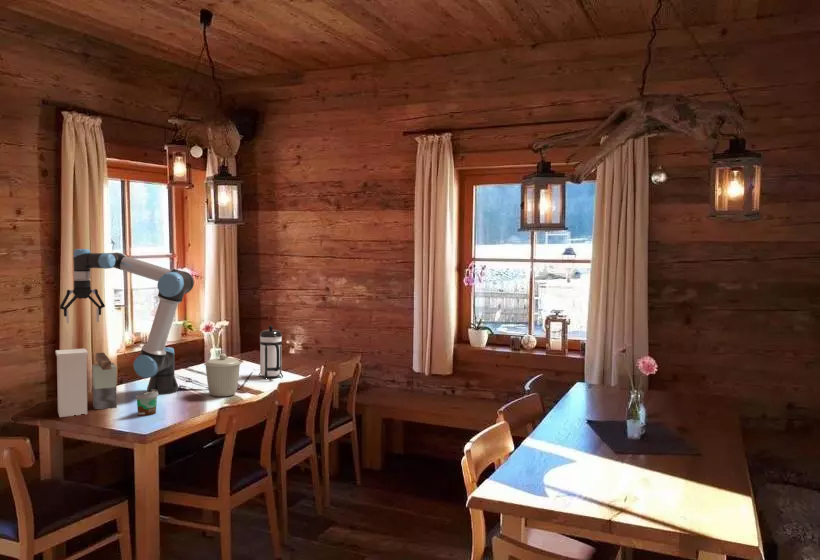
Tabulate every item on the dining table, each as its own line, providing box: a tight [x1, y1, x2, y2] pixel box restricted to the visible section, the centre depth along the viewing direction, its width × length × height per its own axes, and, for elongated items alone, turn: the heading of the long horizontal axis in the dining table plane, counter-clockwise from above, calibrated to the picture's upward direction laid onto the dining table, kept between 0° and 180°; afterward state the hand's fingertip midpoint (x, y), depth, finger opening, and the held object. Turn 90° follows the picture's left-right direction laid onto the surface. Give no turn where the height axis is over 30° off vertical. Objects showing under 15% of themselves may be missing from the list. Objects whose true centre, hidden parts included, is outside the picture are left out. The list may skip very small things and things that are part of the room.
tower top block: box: [92, 362, 117, 389], centre depth 311 cm, size 9×10×10 cm
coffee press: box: [258, 325, 284, 380], centre depth 383 cm, size 17×16×30 cm
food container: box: [135, 389, 160, 417], centre depth 300 cm, size 12×6×10 cm, turn 168°
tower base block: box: [92, 385, 118, 410], centre depth 312 cm, size 9×10×10 cm
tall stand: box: [55, 348, 89, 418], centre depth 299 cm, size 12×12×28 cm
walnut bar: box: [95, 352, 112, 370], centre depth 313 cm, size 4×28×4 cm, turn 31°
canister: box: [204, 353, 242, 398], centre depth 338 cm, size 18×18×21 cm
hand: (82, 322), depth 332 cm, fingers open, 13 cm apart
